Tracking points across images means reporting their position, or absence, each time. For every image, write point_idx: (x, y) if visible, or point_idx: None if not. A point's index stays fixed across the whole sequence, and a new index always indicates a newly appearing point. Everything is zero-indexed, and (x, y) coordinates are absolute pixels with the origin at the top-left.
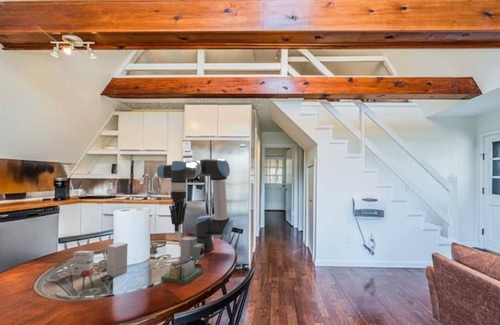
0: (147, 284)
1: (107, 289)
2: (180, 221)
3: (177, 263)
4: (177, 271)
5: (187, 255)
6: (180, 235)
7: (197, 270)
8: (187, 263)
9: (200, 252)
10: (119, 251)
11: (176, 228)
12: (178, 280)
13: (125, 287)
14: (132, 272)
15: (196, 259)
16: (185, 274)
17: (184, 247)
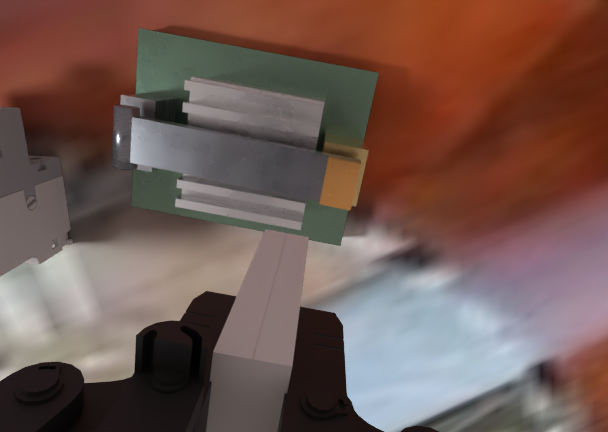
0: (401, 281)
1: (479, 416)
2: (188, 430)
3: (349, 161)
4: (358, 145)
5: (16, 207)
6: (269, 241)
7: (181, 59)
8: (242, 115)
9: None
10: None
11: (339, 360)
12: (366, 125)
13: (450, 359)
14: None
15: (21, 129)
16: (317, 98)
17: None
